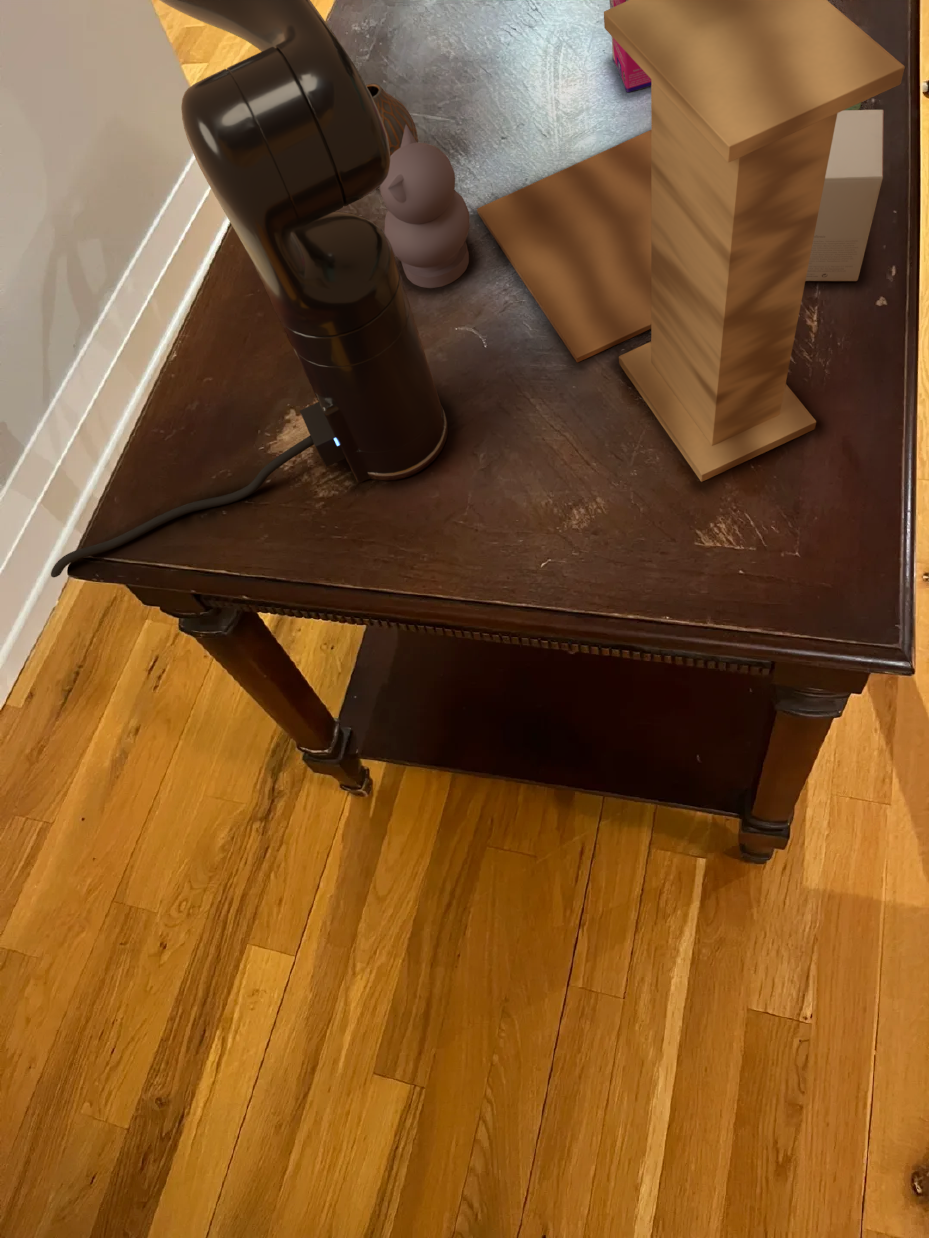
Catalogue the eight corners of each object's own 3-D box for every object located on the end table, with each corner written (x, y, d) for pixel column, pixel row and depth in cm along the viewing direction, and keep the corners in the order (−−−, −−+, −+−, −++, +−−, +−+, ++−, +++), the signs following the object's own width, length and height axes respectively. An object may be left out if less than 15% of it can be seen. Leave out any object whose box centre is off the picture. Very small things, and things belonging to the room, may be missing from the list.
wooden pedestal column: (701, 482, 74) (729, 146, 47) (619, 364, 80) (603, 11, 54) (814, 429, 74) (905, 66, 48) (723, 316, 81) (758, -59, 54)
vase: (351, 164, 98) (325, 85, 90) (411, 138, 98) (391, 58, 91) (371, 203, 95) (346, 125, 87) (433, 177, 95) (414, 96, 87)
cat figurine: (470, 297, 87) (445, 188, 76) (389, 298, 89) (354, 191, 78) (483, 230, 90) (461, 117, 80) (405, 232, 92) (374, 122, 82)
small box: (857, 284, 80) (884, 178, 70) (788, 283, 81) (806, 179, 72) (860, 216, 83) (886, 106, 74) (793, 216, 84) (811, 109, 75)
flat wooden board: (577, 363, 81) (576, 358, 81) (477, 213, 92) (476, 208, 91) (783, 268, 82) (784, 262, 81) (661, 130, 92) (661, 124, 92)
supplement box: (610, 61, 98) (605, -56, 88) (665, 45, 98) (667, -74, 88) (624, 95, 95) (621, -22, 85) (681, 79, 95) (685, -41, 85)
